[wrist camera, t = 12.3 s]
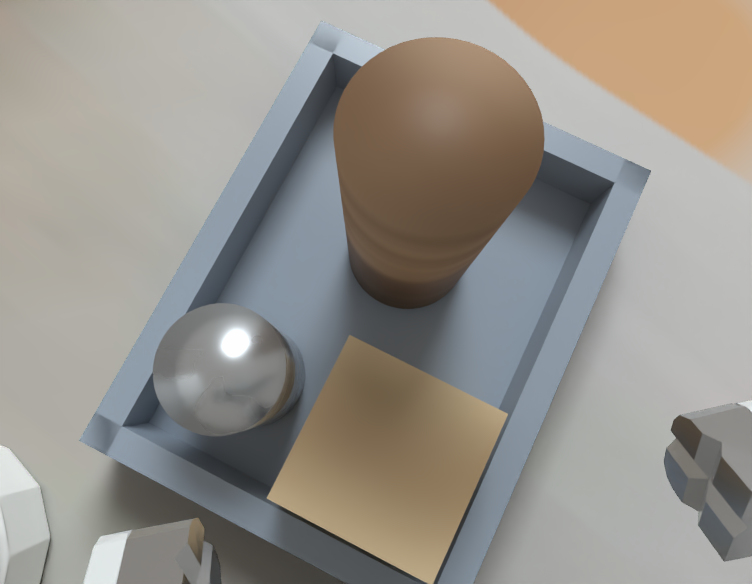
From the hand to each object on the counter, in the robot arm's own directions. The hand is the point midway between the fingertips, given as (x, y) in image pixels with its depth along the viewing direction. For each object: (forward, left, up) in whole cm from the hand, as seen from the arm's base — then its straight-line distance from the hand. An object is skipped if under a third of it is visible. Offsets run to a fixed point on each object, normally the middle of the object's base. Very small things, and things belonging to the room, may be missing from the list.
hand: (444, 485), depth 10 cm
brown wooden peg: (+5, +3, -7) cm, 9 cm away
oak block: (0, +1, -7) cm, 7 cm away
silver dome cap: (0, +5, -7) cm, 9 cm away
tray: (+3, +3, -8) cm, 9 cm away
